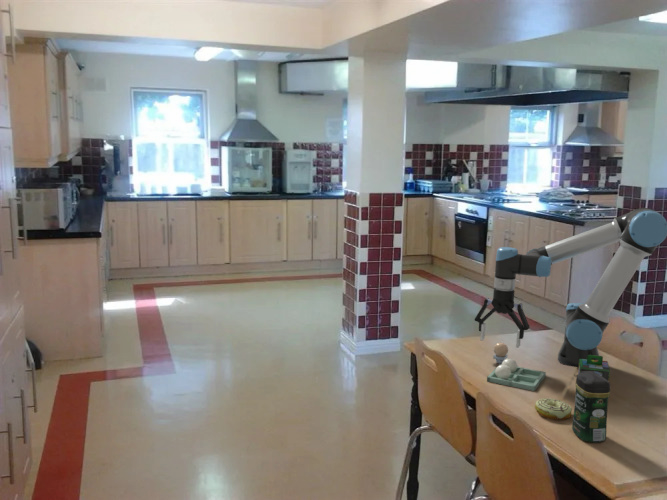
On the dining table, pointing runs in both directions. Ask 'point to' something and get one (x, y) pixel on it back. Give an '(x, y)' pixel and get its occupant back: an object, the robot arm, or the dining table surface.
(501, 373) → the cream egg
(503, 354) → the brown egg
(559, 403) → the decorated donut
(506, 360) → the cream egg
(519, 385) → the carton
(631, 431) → the dining table surface
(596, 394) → the coffee jar
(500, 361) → the egg cup
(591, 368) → the chalk box
